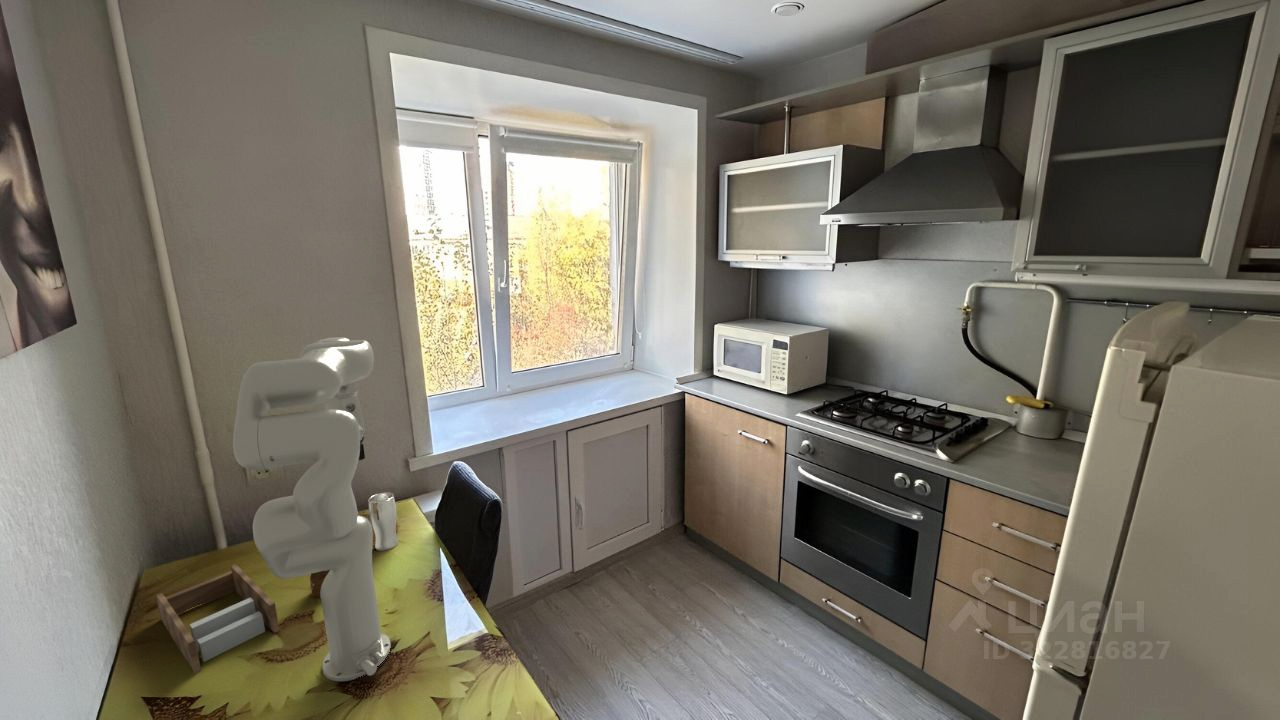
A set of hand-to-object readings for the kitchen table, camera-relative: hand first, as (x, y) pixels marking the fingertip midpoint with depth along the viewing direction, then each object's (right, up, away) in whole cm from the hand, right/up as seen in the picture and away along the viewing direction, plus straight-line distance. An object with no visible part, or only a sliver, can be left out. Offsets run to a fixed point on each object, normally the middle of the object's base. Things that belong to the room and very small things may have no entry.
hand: (348, 456), depth 127 cm
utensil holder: (-7, -35, +3) cm, 36 cm away
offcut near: (-20, -38, -12) cm, 45 cm away
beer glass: (-2, -31, +23) cm, 38 cm away
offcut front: (-17, -39, -15) cm, 44 cm away
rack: (-24, -37, -9) cm, 45 cm away
